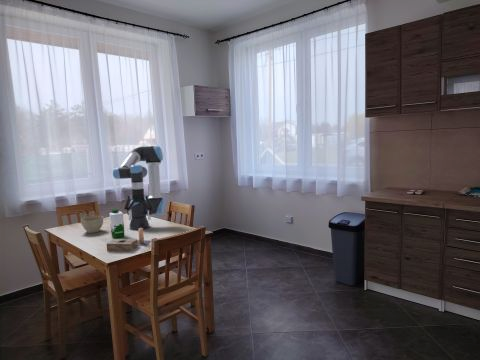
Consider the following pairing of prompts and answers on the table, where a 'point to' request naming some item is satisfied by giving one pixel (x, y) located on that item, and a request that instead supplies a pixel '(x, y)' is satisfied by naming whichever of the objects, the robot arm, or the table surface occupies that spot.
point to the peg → (141, 236)
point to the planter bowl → (92, 223)
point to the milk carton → (117, 224)
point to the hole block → (122, 245)
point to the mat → (146, 242)
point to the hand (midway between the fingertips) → (140, 219)
